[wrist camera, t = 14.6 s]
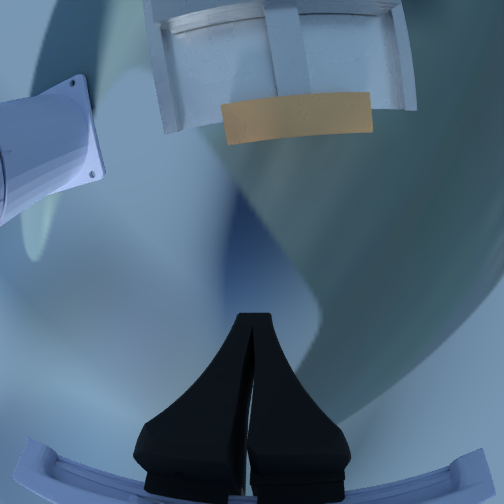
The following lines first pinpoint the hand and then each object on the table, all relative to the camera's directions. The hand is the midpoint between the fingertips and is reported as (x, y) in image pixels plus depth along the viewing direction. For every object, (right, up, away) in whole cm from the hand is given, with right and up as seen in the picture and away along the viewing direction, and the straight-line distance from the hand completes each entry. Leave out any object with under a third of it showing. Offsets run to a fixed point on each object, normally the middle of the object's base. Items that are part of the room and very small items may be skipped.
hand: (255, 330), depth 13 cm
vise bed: (+1, +20, 0) cm, 20 cm away
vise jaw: (+2, +14, +1) cm, 14 cm away
